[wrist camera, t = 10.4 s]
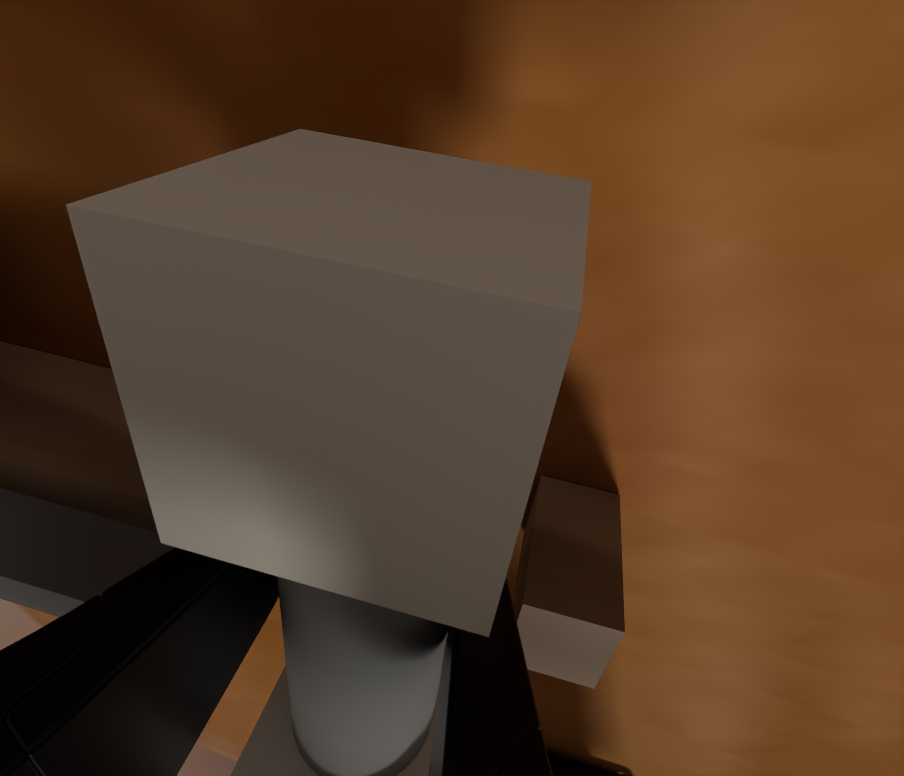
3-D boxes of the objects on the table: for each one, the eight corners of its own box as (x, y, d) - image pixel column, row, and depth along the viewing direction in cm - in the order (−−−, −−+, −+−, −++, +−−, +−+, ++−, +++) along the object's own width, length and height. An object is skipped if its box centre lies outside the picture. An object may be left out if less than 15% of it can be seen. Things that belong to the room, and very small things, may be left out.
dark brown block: (595, 550, 16) (594, 689, 13) (-35, 385, 19) (-176, 464, 16) (619, 494, 15) (624, 632, 12) (-64, 325, 18) (-225, 396, 14)
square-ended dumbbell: (451, 724, 16) (411, 908, 12) (319, 683, 16) (247, 850, 13) (590, 181, 7) (582, 311, 4) (300, 128, 7) (65, 203, 4)
